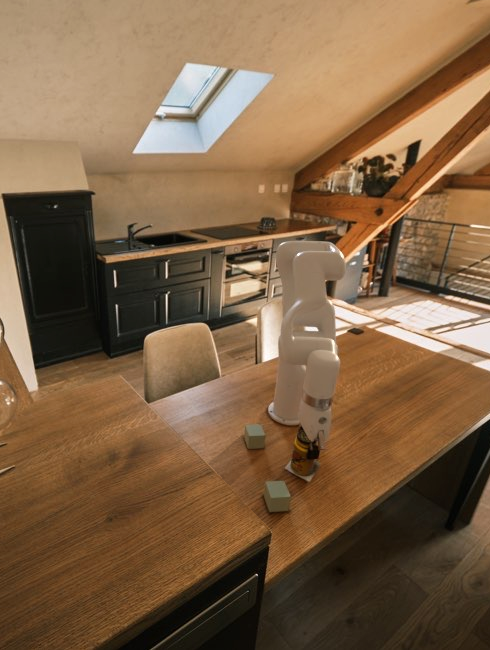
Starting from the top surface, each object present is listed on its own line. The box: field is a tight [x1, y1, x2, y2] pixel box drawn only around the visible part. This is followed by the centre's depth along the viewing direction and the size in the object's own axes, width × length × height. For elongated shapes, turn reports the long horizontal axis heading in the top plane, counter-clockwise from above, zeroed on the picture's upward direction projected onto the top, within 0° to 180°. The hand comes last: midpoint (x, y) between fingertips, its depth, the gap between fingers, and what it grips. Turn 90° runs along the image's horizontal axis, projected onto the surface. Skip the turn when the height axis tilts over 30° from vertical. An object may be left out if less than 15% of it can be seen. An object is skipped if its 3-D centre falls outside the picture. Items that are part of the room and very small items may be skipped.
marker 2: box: [263, 480, 292, 513], centre depth 98 cm, size 5×5×5 cm
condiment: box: [284, 430, 322, 483], centre depth 106 cm, size 7×8×12 cm
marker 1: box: [243, 423, 266, 450], centre depth 118 cm, size 5×5×5 cm
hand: (307, 448), depth 105 cm, fingers closed on condiment, 6 cm apart
